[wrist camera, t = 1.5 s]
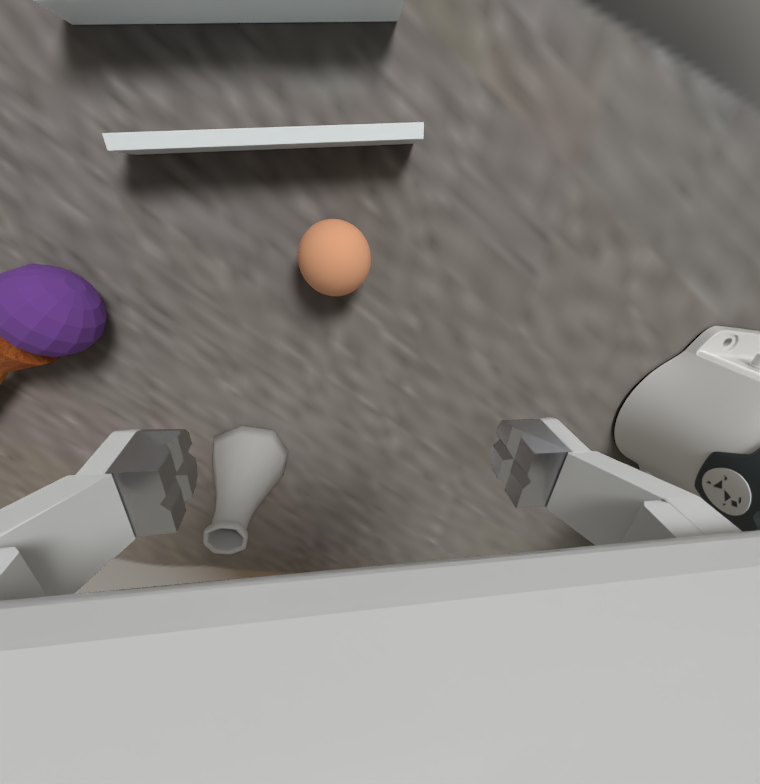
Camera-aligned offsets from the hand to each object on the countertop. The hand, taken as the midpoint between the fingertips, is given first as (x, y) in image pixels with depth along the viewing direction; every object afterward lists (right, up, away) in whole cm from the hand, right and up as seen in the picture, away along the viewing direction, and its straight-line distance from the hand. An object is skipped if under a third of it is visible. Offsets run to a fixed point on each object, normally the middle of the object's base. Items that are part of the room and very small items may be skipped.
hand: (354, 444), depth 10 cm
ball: (-3, +12, +17) cm, 21 cm away
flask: (-12, -5, +26) cm, 29 cm away
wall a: (-6, +18, +14) cm, 23 cm away
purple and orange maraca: (-27, +4, +19) cm, 33 cm away
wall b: (-7, +23, +11) cm, 26 cm away
